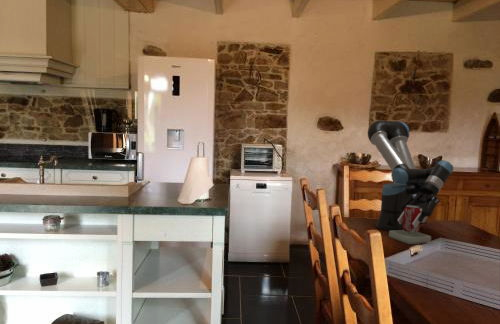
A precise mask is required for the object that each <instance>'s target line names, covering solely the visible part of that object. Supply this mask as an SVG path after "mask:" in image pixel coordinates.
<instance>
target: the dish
mask: <svg viewBox="0 0 500 324" xmlns="http://www.w3.org/2000/svg"><path fill="white" fill-rule="evenodd" d="M388 238H390V239H393V240H396V241H399V242H401V243H404V244H407V245H419V244H421V245H422V244H427V243H426V242H429V241H431V242H432V236H431V235H429V234H425V233H422V232H420V231H419V232H417V233H415V234H413V233H407V232H405V231H404V230H393V231H388Z"/></svg>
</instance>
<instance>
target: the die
mask: <svg viewBox="0 0 500 324" xmlns="http://www.w3.org/2000/svg"><path fill="white" fill-rule="evenodd" d="M420 211H421V212H422V209H420ZM421 214H422V213H421ZM427 219H428V216H426V217H424V219H423V220H422V222H420V224H425V222H426V220H427Z"/></svg>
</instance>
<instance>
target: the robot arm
mask: <svg viewBox="0 0 500 324" xmlns="http://www.w3.org/2000/svg"><path fill="white" fill-rule="evenodd" d="M409 138H410V128H409V125H407V123H405V122H404V121H399V120H382V119H381V120H380V119H379V120H376V121H374V122H372V123H371V124H370V125H369V127H368V129H367V139H368V141H370V143H371V145H373V146H375V147H376V149H377V151H378V152H379V153H380V154H381V156H382V158H383V159H384V161H385V162H386V164H387V166H388V167H389V168H390V169H391V175H390V177H391V179H392V182H389V183H385V184H384V185H383V186H382V189H381V201H380V202H381V203H380V214H379V216H378V218H377V221H376V224H375V227H376V228H377V229H380V230H384V231H388V232H389V231H393V230H403V218H404V209H405V207H406V205H414V206H419V209H422V212H421V213H422V214H421V213H419V214H418V216H417V217H416V219H415V220H414V222H413V223H412V225H413V226H414V228H416V227H417V226H418V224H419V223H420V222H422V220H423V219H424V217H426V216H428V217H429V218H431V216H432V214H433V211H434V210H435V208H436V206H437V204H438V203H439V202H440V200H439V198H438V197H437V195H438V194H439V192H440V191H441V189H442V188H443V186H444V184H446V182H447V180H448V179H449V177H450V176H451V175H452V173H453V171H454V166H453V164H452V163H451V162H449V161H447V160H439V161H438V162H436V165H435V166H432V167H428V168H416V166H415V163H414V160H413V157H412V155H411V153H410V152H411V151H410V149H409V147H408V144H407V143H408V141H409ZM428 217H427V218H428ZM420 224H421V223H420Z"/></svg>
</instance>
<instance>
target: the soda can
mask: <svg viewBox="0 0 500 324" xmlns="http://www.w3.org/2000/svg"><path fill="white" fill-rule="evenodd" d="M419 213H421V211H420V209H419V206H414V205H406V207H405V209H404V218H403V230H404V231H405V232H407V233H413V234H415V233H417V232H419V233H420V228H421V223H419V224H418V226H417V227H416V228H414V226H413V225H412V223H413V222H414V220H415V219H416V217H417V216H418V214H419Z"/></svg>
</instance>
